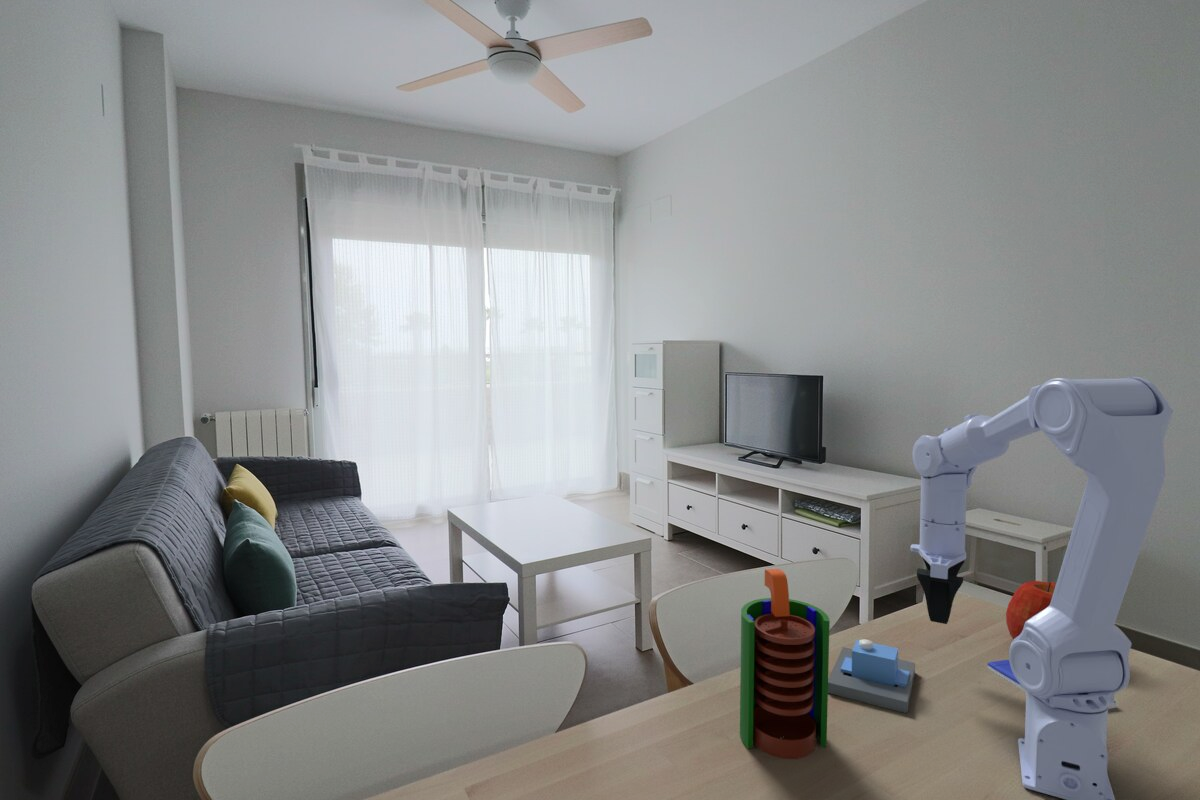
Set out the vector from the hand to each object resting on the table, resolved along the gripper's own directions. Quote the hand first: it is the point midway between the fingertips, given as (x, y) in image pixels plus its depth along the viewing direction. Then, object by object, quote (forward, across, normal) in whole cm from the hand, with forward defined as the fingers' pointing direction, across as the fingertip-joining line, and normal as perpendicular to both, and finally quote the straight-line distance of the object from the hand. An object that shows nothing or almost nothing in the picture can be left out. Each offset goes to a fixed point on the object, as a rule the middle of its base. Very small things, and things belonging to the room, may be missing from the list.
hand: (940, 612), depth 90 cm
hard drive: (+10, -4, +13) cm, 17 cm away
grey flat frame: (+9, +7, -8) cm, 14 cm away
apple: (+10, -18, +14) cm, 25 cm away
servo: (+10, +7, -8) cm, 14 cm away
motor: (+10, +26, -16) cm, 32 cm away
